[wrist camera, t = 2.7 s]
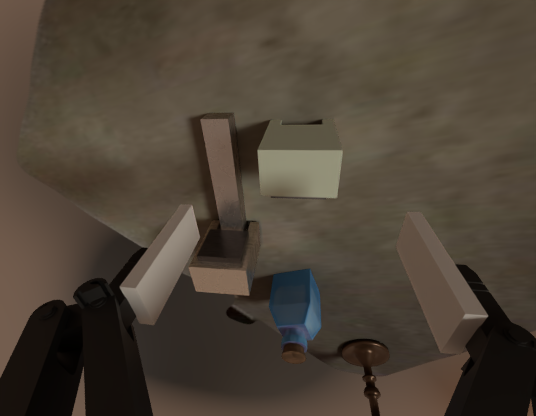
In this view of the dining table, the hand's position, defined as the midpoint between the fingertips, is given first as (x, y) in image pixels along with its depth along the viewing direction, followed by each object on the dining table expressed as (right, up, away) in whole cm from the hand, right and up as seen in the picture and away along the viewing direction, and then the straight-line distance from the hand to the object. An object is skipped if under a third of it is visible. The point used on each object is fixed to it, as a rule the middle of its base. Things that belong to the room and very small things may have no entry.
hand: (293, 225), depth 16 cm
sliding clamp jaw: (+2, +9, +13) cm, 16 cm away
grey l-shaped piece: (-6, +3, +19) cm, 20 cm away
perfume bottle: (+3, -12, +27) cm, 30 cm away
